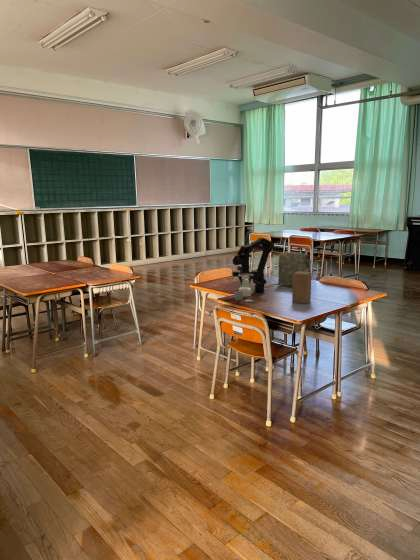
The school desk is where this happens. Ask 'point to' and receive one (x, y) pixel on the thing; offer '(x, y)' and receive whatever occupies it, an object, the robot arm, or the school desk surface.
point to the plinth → (246, 291)
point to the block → (301, 287)
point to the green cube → (245, 283)
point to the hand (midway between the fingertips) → (245, 285)
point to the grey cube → (238, 295)
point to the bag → (291, 266)
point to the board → (249, 300)
